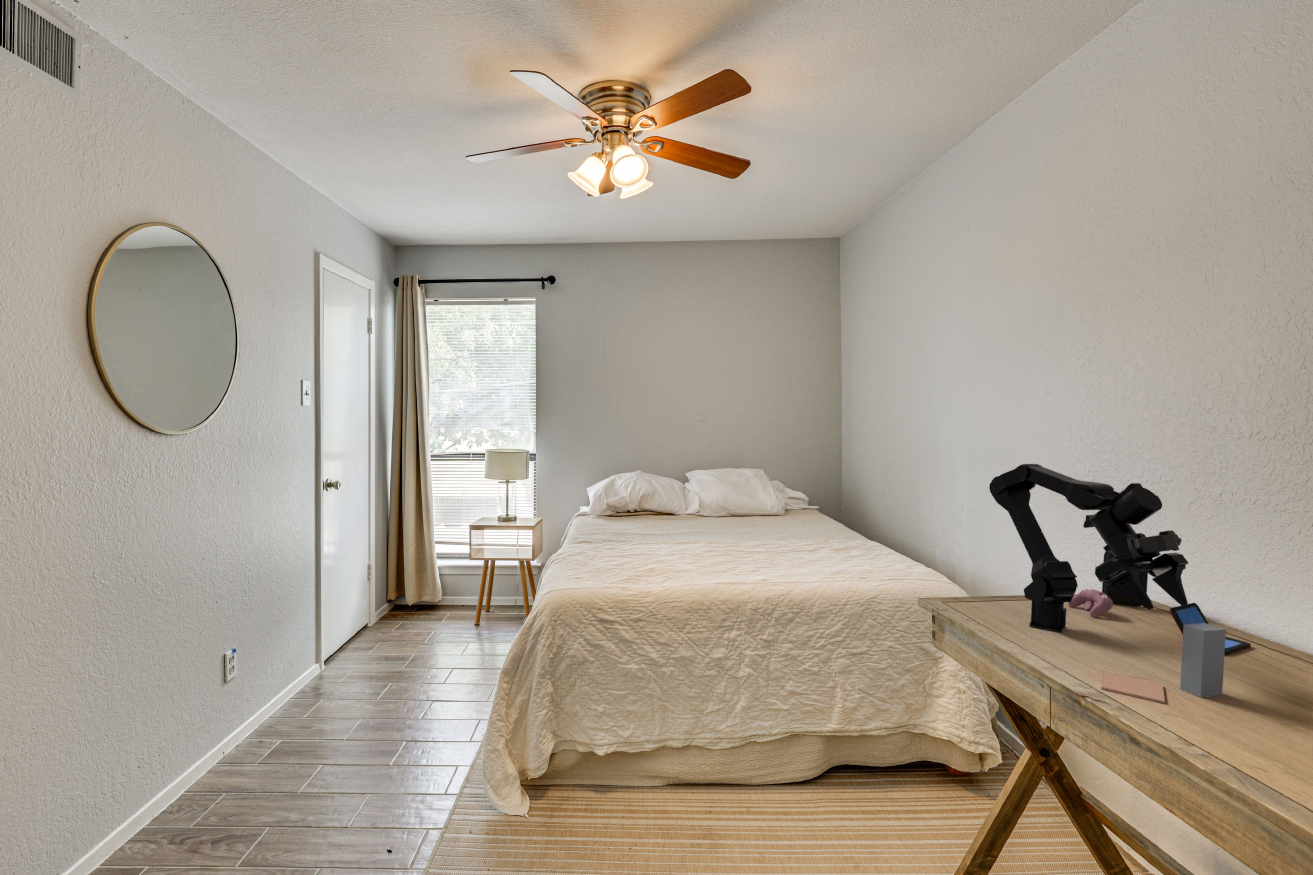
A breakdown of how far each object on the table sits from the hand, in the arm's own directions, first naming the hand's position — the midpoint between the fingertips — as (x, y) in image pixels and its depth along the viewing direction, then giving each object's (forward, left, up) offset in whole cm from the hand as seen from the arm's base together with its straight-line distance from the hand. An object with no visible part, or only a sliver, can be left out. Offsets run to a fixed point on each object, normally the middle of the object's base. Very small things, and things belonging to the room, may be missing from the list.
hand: (1168, 606), depth 121 cm
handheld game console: (+9, +28, -14) cm, 33 cm away
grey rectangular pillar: (+5, -7, -13) cm, 16 cm away
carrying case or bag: (-6, +52, -13) cm, 54 cm away
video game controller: (-13, +38, -13) cm, 43 cm away
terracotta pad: (-5, -13, -13) cm, 19 cm away
